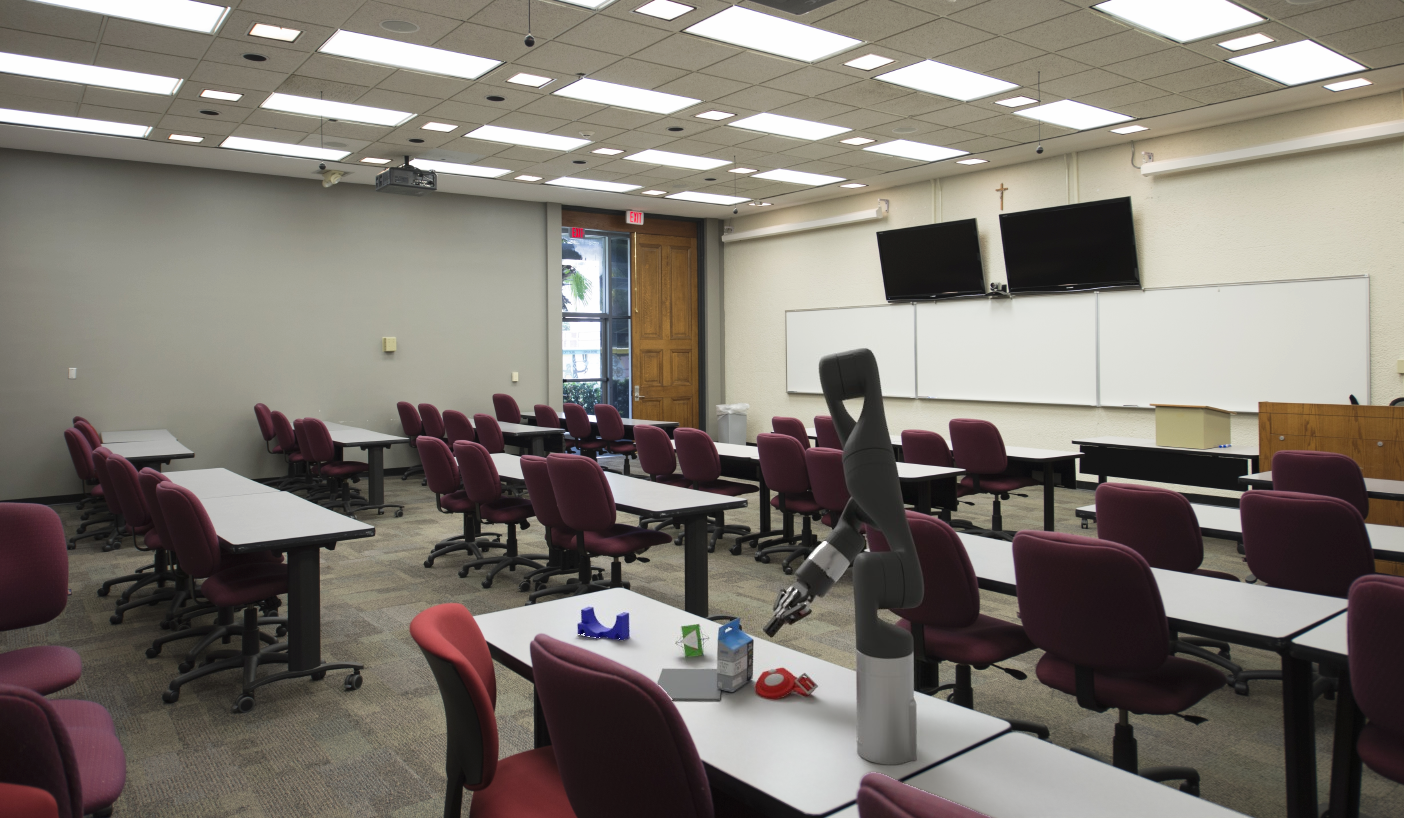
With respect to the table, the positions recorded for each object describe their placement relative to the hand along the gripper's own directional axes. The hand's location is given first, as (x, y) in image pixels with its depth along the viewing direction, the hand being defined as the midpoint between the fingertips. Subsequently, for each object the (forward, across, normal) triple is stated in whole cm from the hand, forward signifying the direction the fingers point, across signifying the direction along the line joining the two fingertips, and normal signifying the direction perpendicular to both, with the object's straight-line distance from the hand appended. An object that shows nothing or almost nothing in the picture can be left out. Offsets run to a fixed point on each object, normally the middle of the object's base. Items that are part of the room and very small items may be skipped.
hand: (766, 633), depth 173 cm
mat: (+18, -4, -4) cm, 19 cm away
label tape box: (+12, 0, +2) cm, 12 cm away
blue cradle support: (+27, -40, -12) cm, 50 cm away
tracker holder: (+6, +6, +8) cm, 12 cm away
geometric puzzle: (+14, -21, 0) cm, 25 cm away
